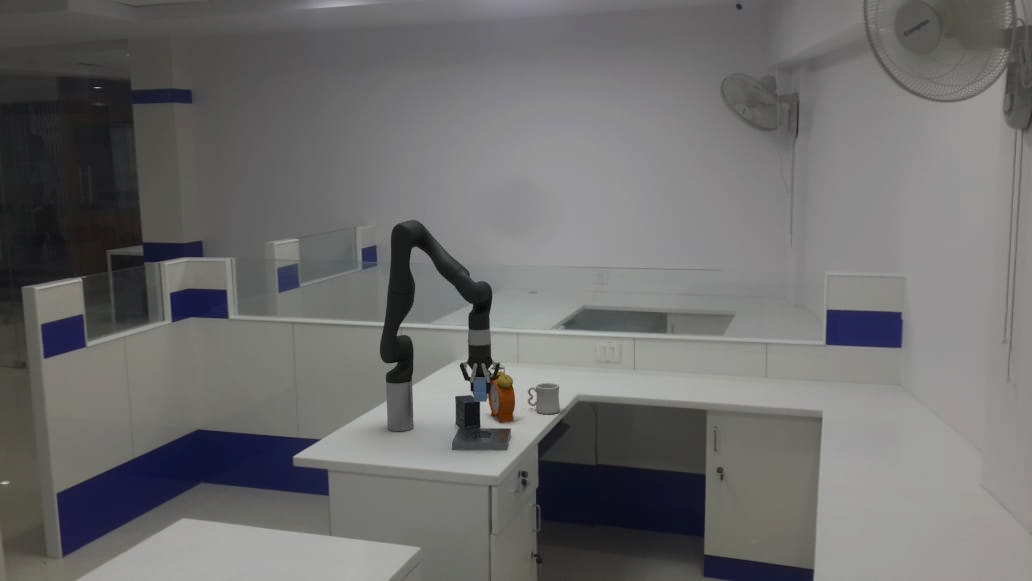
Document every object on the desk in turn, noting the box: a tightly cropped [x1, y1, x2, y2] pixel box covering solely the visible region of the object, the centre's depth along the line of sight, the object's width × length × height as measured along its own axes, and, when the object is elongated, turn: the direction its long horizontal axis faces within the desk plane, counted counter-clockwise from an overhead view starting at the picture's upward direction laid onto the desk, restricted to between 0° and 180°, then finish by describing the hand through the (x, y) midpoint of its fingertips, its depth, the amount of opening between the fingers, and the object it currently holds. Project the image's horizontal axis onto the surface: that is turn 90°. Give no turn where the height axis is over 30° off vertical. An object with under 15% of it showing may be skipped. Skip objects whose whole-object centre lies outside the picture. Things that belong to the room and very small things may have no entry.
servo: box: [472, 377, 488, 403], centre depth 286 cm, size 9×4×7 cm, turn 175°
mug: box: [527, 382, 561, 415], centre depth 326 cm, size 12×9×10 cm
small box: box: [455, 394, 481, 428], centre depth 307 cm, size 11×6×10 cm, turn 22°
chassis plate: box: [451, 427, 512, 451], centre depth 289 cm, size 16×18×2 cm
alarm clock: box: [487, 364, 516, 424], centre depth 316 cm, size 13×6×20 cm, turn 21°
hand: (480, 392), depth 287 cm, fingers closed on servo, 4 cm apart
